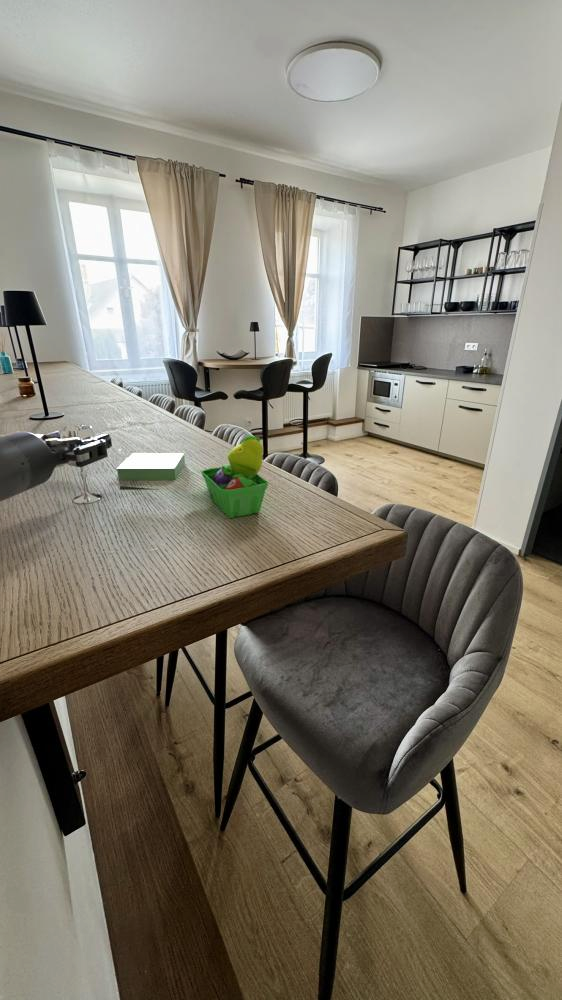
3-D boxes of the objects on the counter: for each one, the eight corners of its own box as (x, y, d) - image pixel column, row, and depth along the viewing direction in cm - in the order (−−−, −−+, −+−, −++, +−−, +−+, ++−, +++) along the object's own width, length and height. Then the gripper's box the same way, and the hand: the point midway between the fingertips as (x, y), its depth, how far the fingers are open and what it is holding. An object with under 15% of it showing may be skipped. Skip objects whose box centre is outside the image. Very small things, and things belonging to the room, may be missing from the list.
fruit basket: (201, 498, 70) (196, 432, 66) (248, 490, 74) (247, 428, 70) (224, 523, 61) (221, 449, 56) (277, 513, 64) (278, 442, 60)
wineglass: (113, 496, 70) (102, 426, 66) (83, 507, 65) (69, 433, 61) (91, 490, 73) (80, 422, 68) (61, 500, 68) (46, 428, 64)
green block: (119, 489, 73) (116, 468, 72) (135, 472, 82) (132, 453, 81) (176, 489, 74) (174, 468, 72) (185, 472, 83) (184, 453, 82)
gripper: (45, 441, 49) (122, 417, 64) (-52, 434, 52) (42, 413, 67) (57, 499, 52) (128, 463, 67) (-36, 490, 55) (51, 457, 69)
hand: (85, 438), depth 67 cm, fingers open, 8 cm apart
